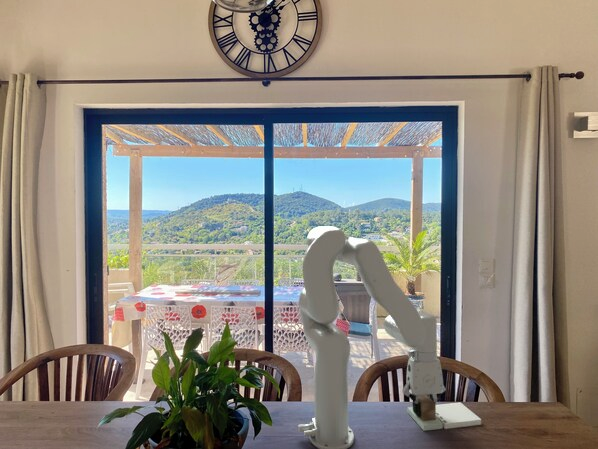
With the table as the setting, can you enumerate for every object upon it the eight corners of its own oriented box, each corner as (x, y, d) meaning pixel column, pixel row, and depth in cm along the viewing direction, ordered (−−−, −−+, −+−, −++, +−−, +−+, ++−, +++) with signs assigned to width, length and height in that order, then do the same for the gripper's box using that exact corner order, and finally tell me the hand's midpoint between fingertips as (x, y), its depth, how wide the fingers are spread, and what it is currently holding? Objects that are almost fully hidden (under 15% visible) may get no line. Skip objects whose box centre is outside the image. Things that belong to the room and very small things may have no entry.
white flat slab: (444, 428, 100) (444, 423, 100) (426, 410, 110) (426, 405, 110) (481, 424, 102) (481, 419, 102) (460, 406, 112) (460, 401, 112)
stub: (423, 430, 99) (423, 408, 99) (407, 411, 109) (407, 391, 109) (442, 428, 100) (442, 406, 100) (424, 410, 110) (424, 390, 110)
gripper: (404, 361, 99) (404, 423, 100) (456, 357, 102) (456, 417, 102) (392, 351, 107) (393, 409, 107) (441, 348, 110) (442, 404, 110)
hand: (424, 413), depth 105 cm, fingers closed on stub, 4 cm apart
